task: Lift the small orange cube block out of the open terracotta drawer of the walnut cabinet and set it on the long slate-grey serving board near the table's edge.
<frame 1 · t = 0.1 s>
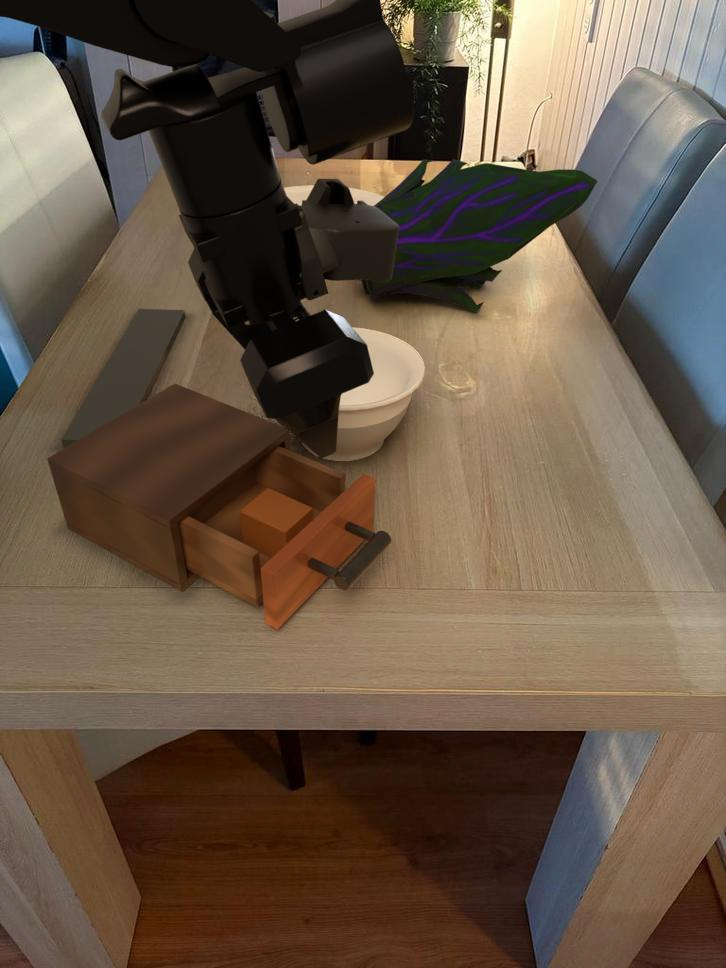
hand: (305, 416, 50), 16 cm above the table, tool pointing down, fingers open, 9 cm apart
plate: (318, 218, 130), on the table
orange cube block: (278, 542, 61), point 2 cm above the table, touching drawer
cabinet: (183, 512, 67), on the table
board: (132, 373, 86), on the table
drawer: (285, 529, 60), point 4 cm above the table, slide at 8.0 cm, touching orange cube block
decorative plant: (444, 296, 105), on the table
bowl: (342, 437, 77), on the table
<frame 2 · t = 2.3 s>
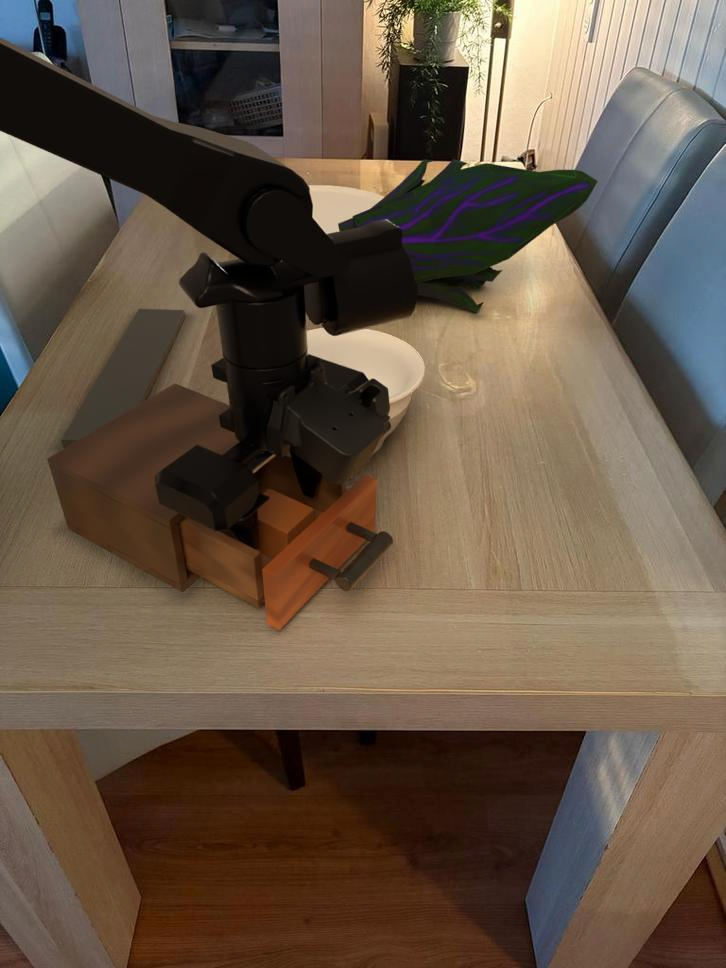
hand: (281, 520, 60), 4 cm above the table, tool pointing down, fingers open, 7 cm apart
drawer: (286, 530, 60), point 4 cm above the table, slide at 8.1 cm, touching orange cube block, gripper
everything else where it was.
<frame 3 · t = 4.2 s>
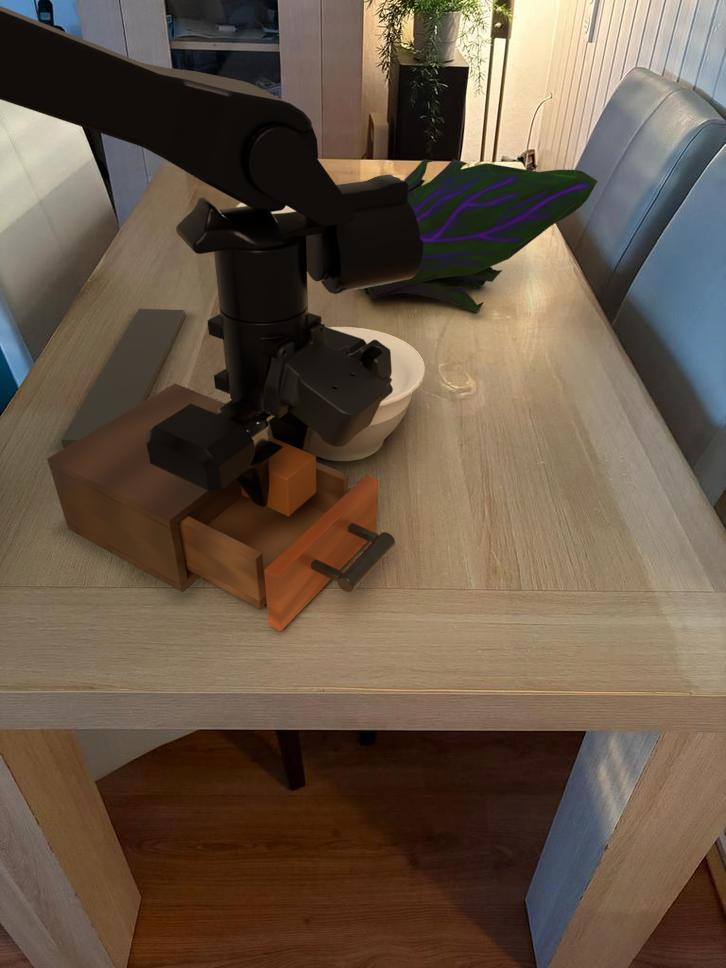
hand: (276, 491, 58), 7 cm above the table, tool pointing down, fingers closed on orange cube block, 3 cm apart
orange cube block: (279, 493, 58), point 7 cm above the table, touching gripper
drawer: (288, 531, 60), point 4 cm above the table, slide at 8.3 cm
everything else where it was.
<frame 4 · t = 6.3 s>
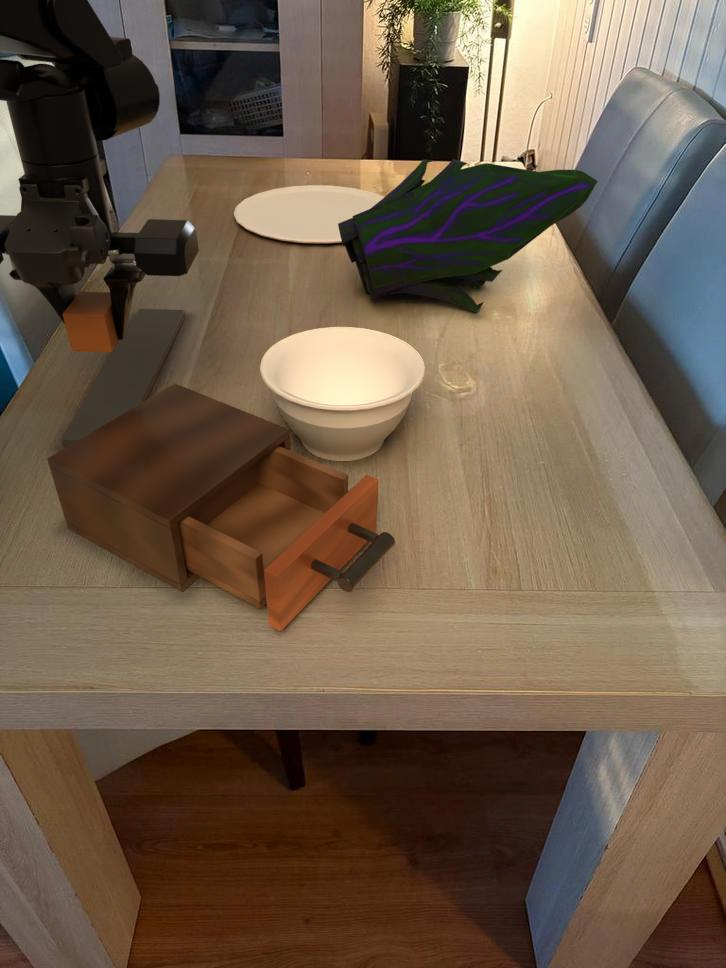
hand: (100, 337, 67), 12 cm above the table, tool pointing down, fingers closed on orange cube block, 3 cm apart
orange cube block: (99, 339, 67), point 12 cm above the table, touching gripper
everything else where it was.
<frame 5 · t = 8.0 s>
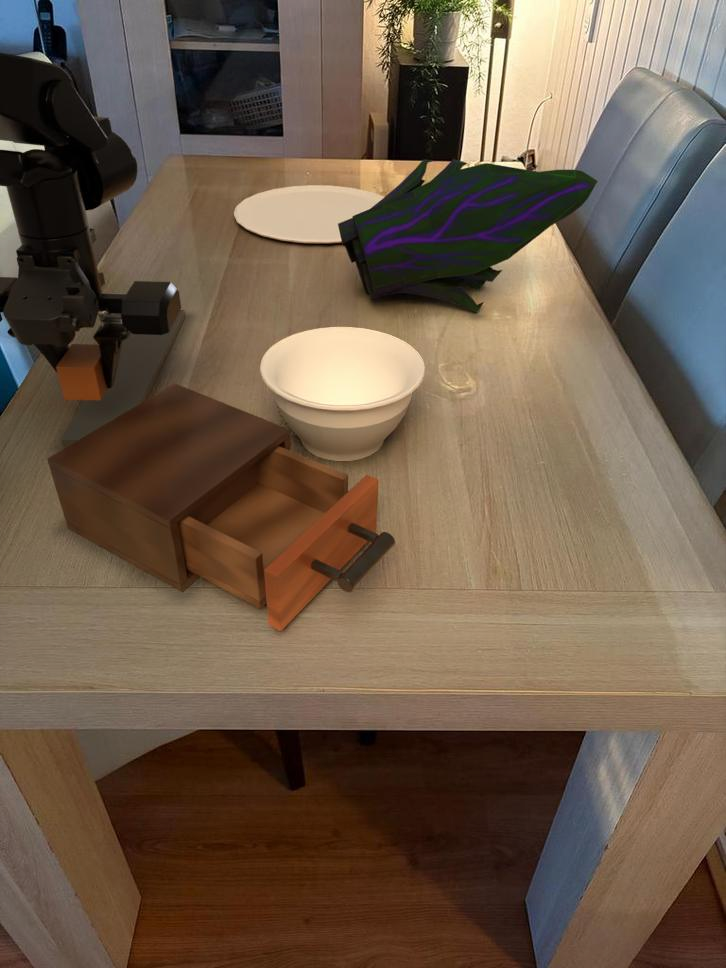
hand: (90, 385, 73), 6 cm above the table, tool pointing down, fingers closed on orange cube block, 3 cm apart
orange cube block: (90, 388, 73), point 5 cm above the table, touching gripper
everything else where it was.
when the fingers open (1 cm above the table, at t = 9.5 s): orange cube block stays where it is, resting on board.
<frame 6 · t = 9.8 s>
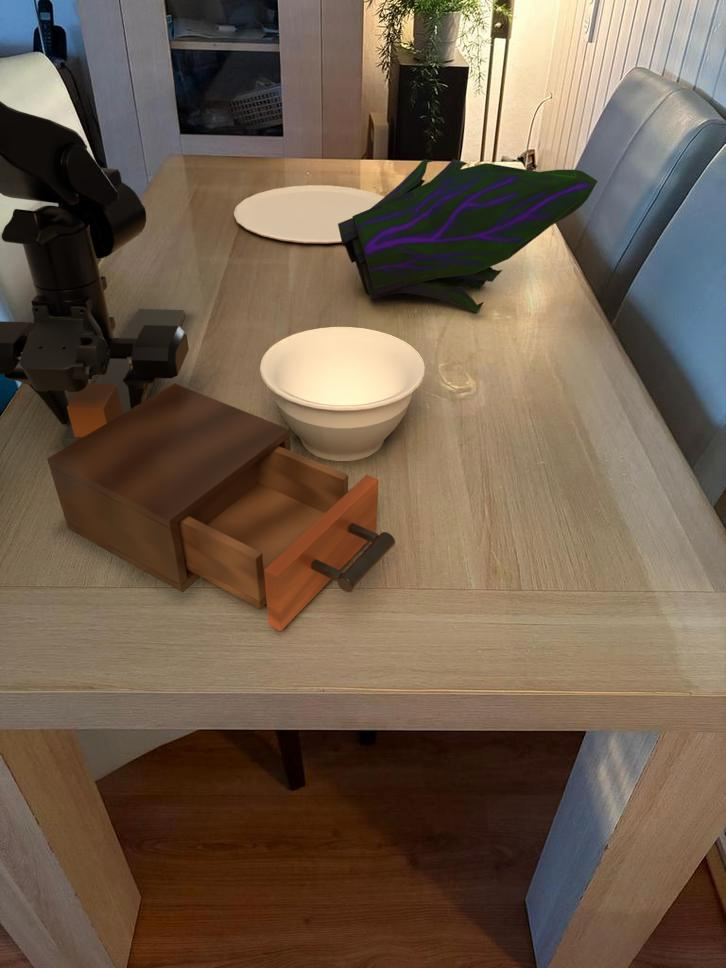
hand: (102, 423, 76), 1 cm above the table, tool pointing down, fingers open, 7 cm apart
orange cube block: (99, 425, 76), point 1 cm above the table, touching board
everything else where it was.
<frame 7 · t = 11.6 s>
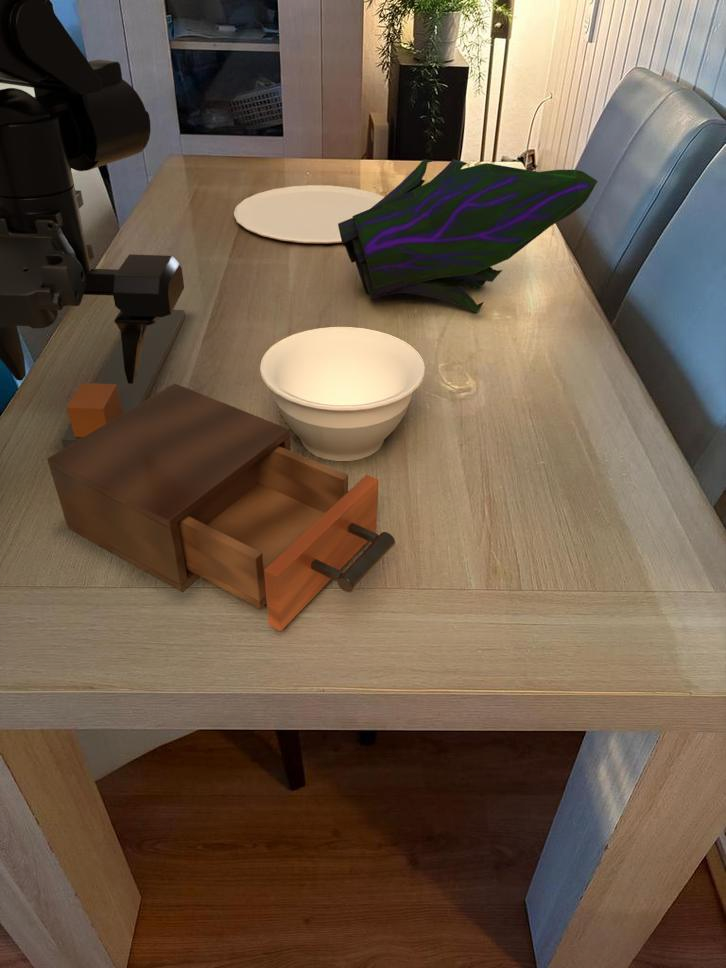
hand: (76, 379, 62), 12 cm above the table, tool pointing down, fingers open, 9 cm apart
nothing on the table moved.
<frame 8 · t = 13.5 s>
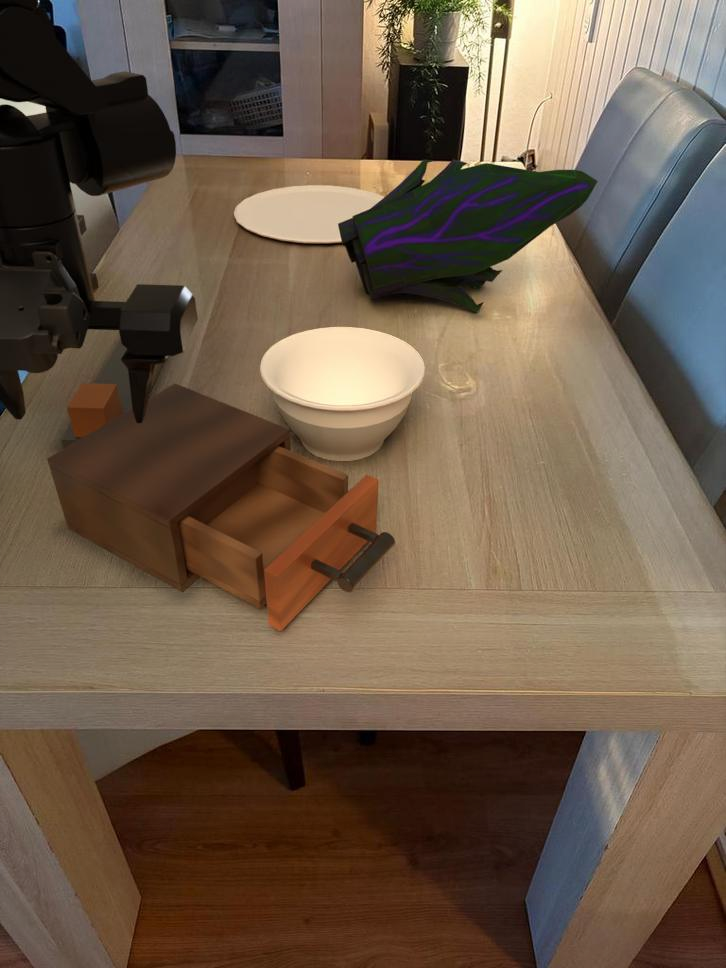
hand: (80, 418, 57), 12 cm above the table, tool pointing down, fingers open, 9 cm apart
nothing on the table moved.
at the end: orange cube block inside the target area on the board (0.3 cm from its centre), point 1.0 cm above the board's base; orange cube block touching board; the gripper is holding nothing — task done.
